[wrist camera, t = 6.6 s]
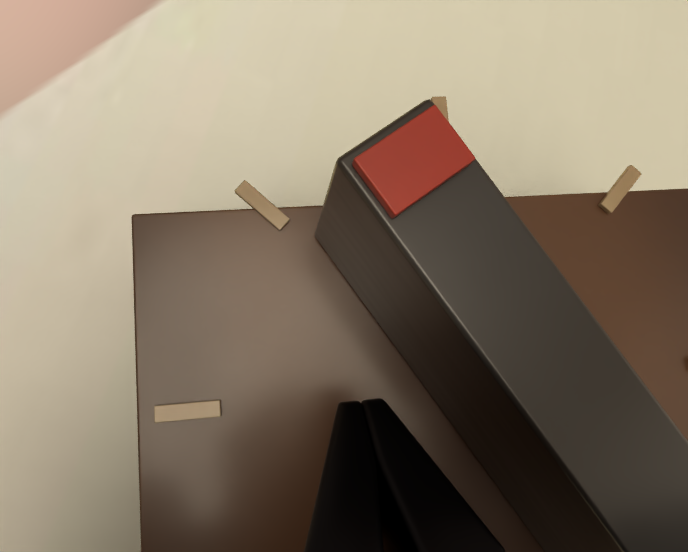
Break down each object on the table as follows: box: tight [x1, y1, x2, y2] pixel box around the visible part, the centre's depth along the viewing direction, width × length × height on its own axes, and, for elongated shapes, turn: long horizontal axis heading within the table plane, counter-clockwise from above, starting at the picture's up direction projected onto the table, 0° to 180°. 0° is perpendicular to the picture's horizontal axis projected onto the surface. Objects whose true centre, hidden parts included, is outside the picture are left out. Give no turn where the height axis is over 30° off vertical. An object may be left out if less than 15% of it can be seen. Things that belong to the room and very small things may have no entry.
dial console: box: [132, 97, 688, 552], centre depth 15 cm, size 15×15×5 cm
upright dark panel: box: [315, 100, 688, 552], centre depth 10 cm, size 10×2×5 cm, turn 36°
